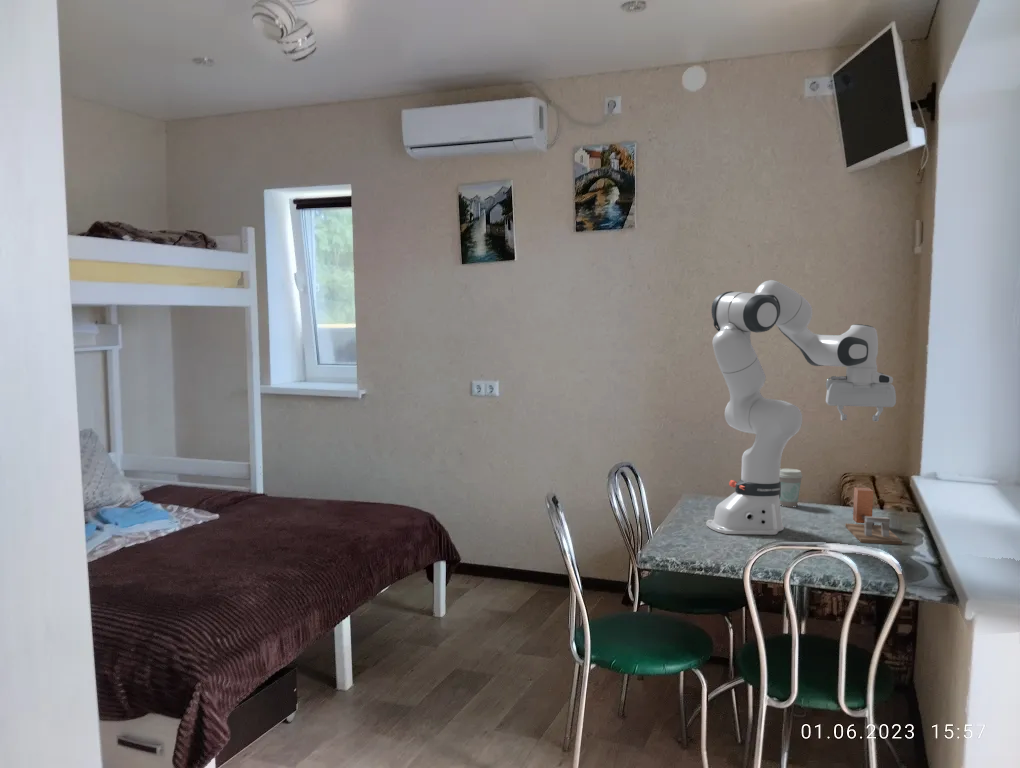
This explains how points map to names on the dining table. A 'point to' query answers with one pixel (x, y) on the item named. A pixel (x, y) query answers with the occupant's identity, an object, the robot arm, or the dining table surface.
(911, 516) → the dining table surface
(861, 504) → the orange brown upright block
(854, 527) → the eye board
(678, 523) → the dining table surface
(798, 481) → the coffee cup
